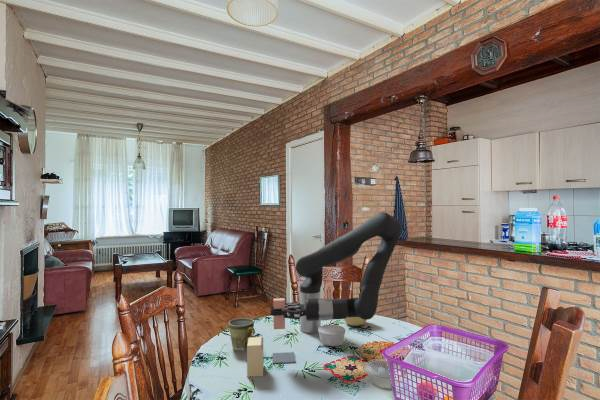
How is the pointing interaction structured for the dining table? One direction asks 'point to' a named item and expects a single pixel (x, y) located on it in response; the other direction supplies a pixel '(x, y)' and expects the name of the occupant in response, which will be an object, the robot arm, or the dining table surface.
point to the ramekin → (331, 335)
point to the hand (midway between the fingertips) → (271, 310)
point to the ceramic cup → (241, 332)
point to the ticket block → (255, 357)
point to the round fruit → (354, 321)
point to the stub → (280, 320)
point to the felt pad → (283, 358)
